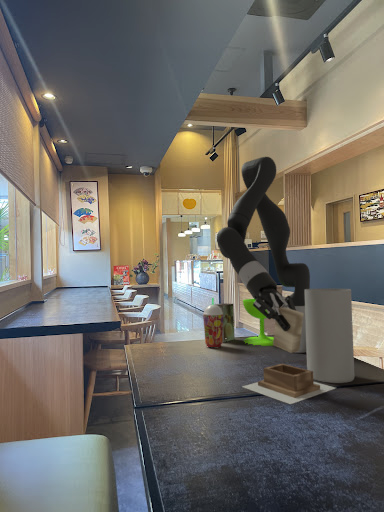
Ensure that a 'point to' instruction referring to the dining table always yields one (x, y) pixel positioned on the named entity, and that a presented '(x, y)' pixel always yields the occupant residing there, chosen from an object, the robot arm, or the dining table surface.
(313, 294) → the cylinder vase
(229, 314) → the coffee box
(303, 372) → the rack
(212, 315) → the smoothie
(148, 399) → the dining table surface
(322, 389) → the mat
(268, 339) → the wineglass
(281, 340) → the beech block
